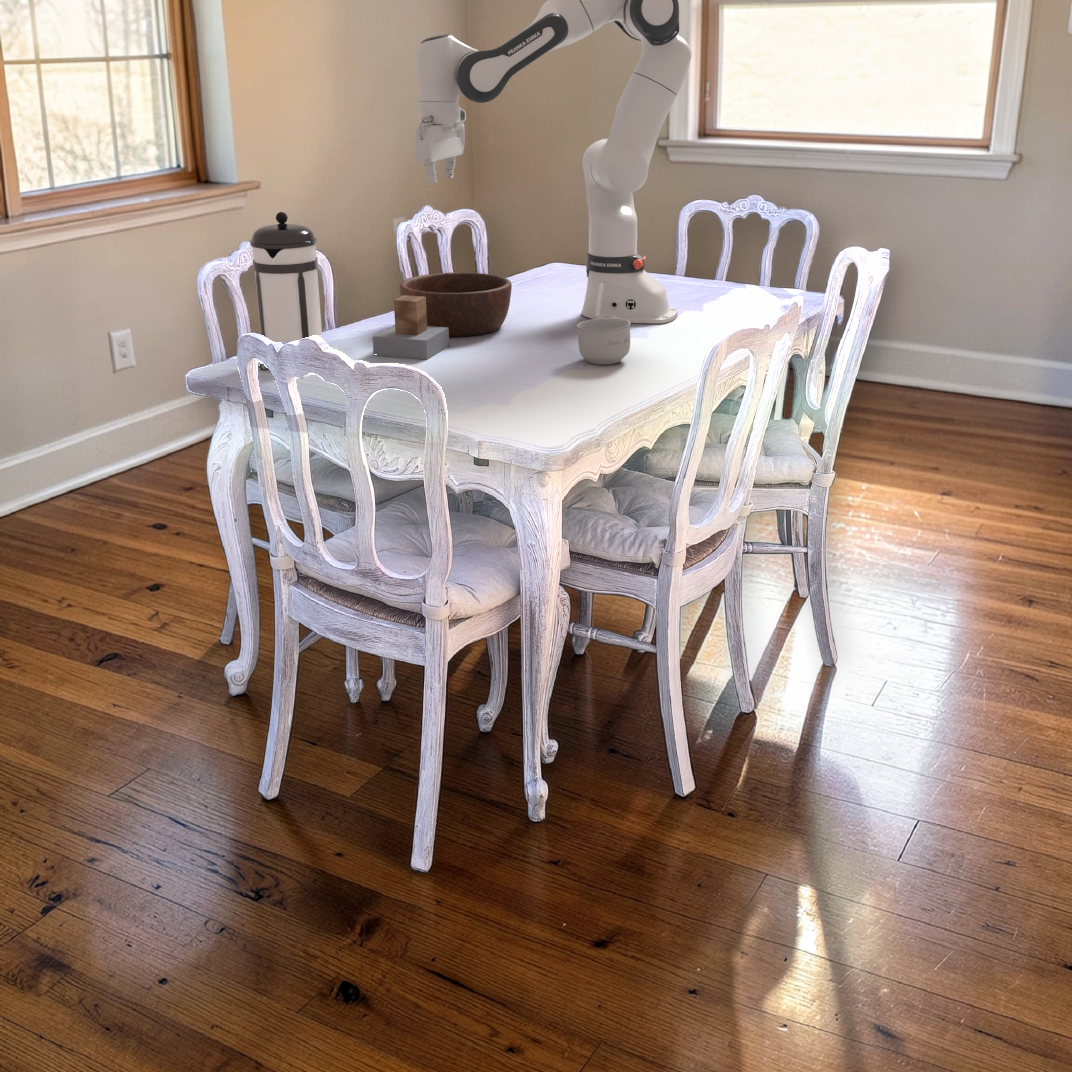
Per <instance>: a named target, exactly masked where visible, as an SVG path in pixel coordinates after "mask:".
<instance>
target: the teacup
mask: <svg viewBox="0 0 1072 1072" xmlns="http://www.w3.org/2000/svg"><path fill="white" fill-rule="evenodd" d="M631 324H632V323H630V321H628V320H625V319H619V318H618V317H611V318H598V319H592V318H591V319H586V320H583V321H579V322H578V323H577V324H576V329H577V330H576V331H577V343H578V352H579V353H580V355H581V357H582V358H584V359H585V360H586V361H587V362H588V363H590V364H593V365H601V366H602V365H604V366H605V365H613V364H617V363H619V362H621V361H622V360H623V359H624V358H625V357H626V356H627V355H628V354H629V352H630V349H631Z"/></svg>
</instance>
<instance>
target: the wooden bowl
mask: <svg viewBox="0 0 1072 1072" xmlns="http://www.w3.org/2000/svg"><path fill="white" fill-rule="evenodd" d="M512 285H513V284H512V282H511V280H510V279H508V278H506V277H504V276H501V275H496V274H491V273H490V274H489V273H481V272H466V271H465V272H462V271H461V272H458V271H457V272H455V271H454V272H439V273H437V272H436V273H428V274H423V275H422V274H421V275H417V276H412V277H409V278H407V279H404V280H402V282H400V283H399V293H400V297H401V296H403V295H406V296H422V297H426V314H427V326H434V327H448V328H449V338H450V337H451V338H454V337H455V338H456V337H460V338H461V337H472V336H481V335H485V334H490V333H493V332H495V331H497V330H499V329H500V328H501V327H502V325H503V323H504V322H505V320H506V318H507V316H508V313H509V308H510V302H511V296H512V287H513V286H512Z"/></svg>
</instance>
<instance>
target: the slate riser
mask: <svg viewBox="0 0 1072 1072" xmlns="http://www.w3.org/2000/svg"><path fill="white" fill-rule="evenodd" d="M372 346H373V347H372V349H373V355H374V354H377V355H382V356H381V357H387V356H392V357H391V358H400V357H401V358H400V359H402V358H403V359H412V358H413V360H424V361H425V360H426V361H428V360H430V359H431V358H432V357H434V356H436V355H438V354H439V353H441V352H442V351H444V350H445V349H447V348H449V347H450V337H449V328H448V327H434V326H427V330H426V331H425V332H423V333H421V334H419V335H406V334H395V324H394V325H391V326H390V327H388V328H386V329H384V330H382V331H380V332H377V334H374V335H372Z"/></svg>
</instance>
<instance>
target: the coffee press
mask: <svg viewBox="0 0 1072 1072" xmlns="http://www.w3.org/2000/svg"><path fill="white" fill-rule="evenodd" d="M275 219H276V221H277V224H268V225H264V226H262V227H259V228H257V229H256V230H254V232H253V234H252V238H251V239H250V240H249V245H250V247H251V248H252V256H253V259H252V268H253V269H252V270H253V271H254V277H255V287H256V297H257V300H256V301H257V307H258V308H257V309H258V319H259V329H260V336H261V335H264V336H265V337H267V338H269V339H270V340H272V341H275V342H288V341H292V340H299V339H302V338H305V337H309V336H312V335H322V336H323V330H322V329H323V328H322V318H321V317H322V316H321V315H322V314H321V303H320V302H321V301H320V291H319V289H320V287H319V278H318V277H319V275H318V268H319V262H318V260H319V259H318V256H317V251H316V250H317V249H316V246H317V244H318V238H317V237H316V236H315V234H314V232H313V231H312V230H311V229H310V228H309V227H307V226H306V225H305V226H304V225H301V224H297V223H296V224H295V223H294V224H293V223H286V222H287V221H288V215H287V213H285V212H283V211H279V212H278V213H276V215H275ZM263 365H264V363H263V364H260V366H258V368H259V369H260V370H262V371H267V370H268V369H267V368H266V367H265V366H264V367H263Z"/></svg>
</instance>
